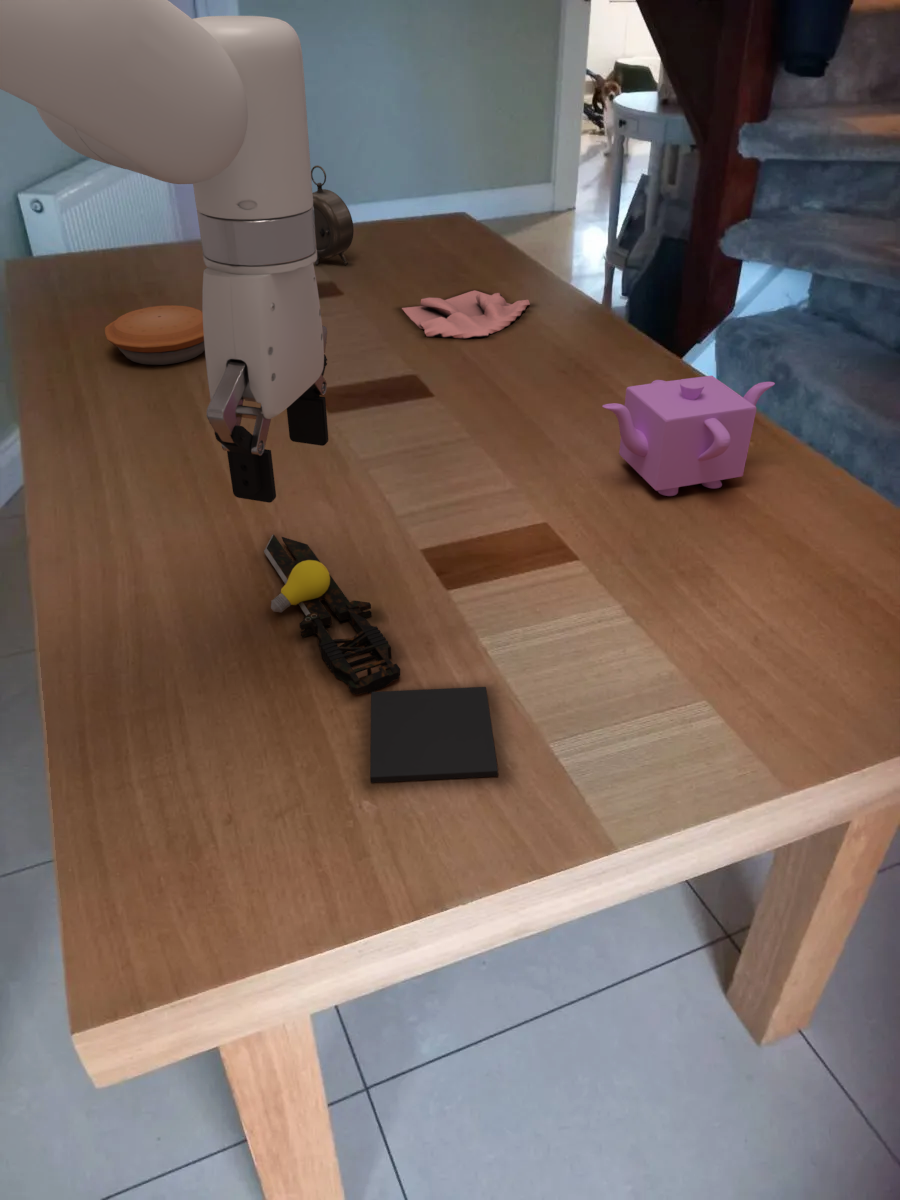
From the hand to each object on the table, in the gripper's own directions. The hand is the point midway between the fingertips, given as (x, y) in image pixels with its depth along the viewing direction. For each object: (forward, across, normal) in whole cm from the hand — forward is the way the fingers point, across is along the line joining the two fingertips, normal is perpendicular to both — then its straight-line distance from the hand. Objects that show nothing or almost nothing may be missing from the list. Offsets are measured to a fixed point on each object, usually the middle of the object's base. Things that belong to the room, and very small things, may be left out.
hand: (283, 468), depth 71 cm
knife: (+15, -3, 0) cm, 15 cm away
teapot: (+14, -36, +29) cm, 49 cm away
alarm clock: (+14, -101, -40) cm, 110 cm away
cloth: (+14, -81, -7) cm, 83 cm away
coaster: (+15, +10, +15) cm, 23 cm away
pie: (+15, -54, -45) cm, 72 cm away
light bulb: (+13, -2, 0) cm, 13 cm away
